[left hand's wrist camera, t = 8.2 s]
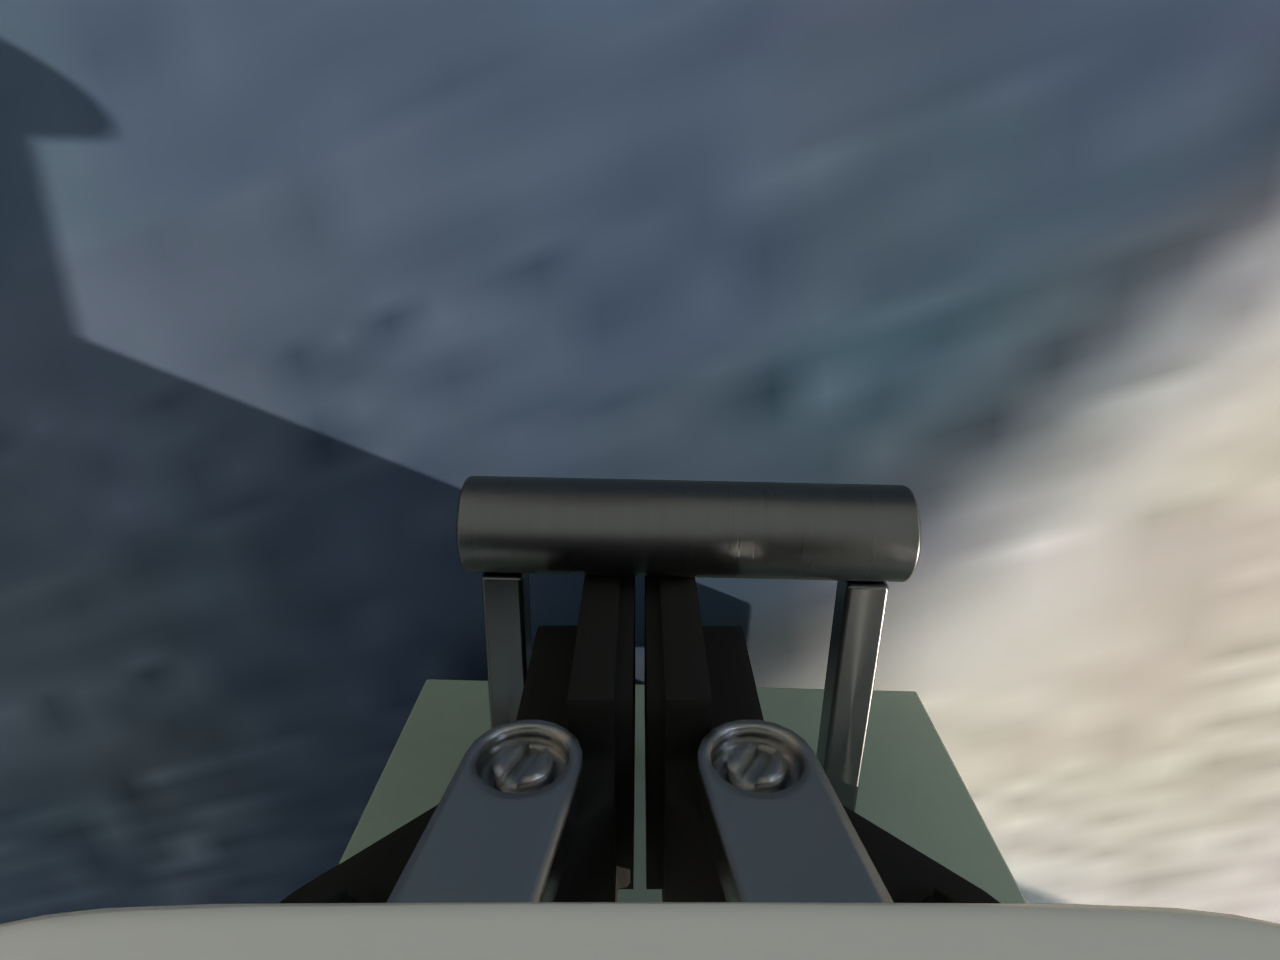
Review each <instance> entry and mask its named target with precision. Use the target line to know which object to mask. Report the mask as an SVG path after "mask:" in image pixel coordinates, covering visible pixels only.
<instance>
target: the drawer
mask: <svg viewBox="0 0 1280 960" xmlns="http://www.w3.org/2000/svg"><path fill="white" fill-rule="evenodd" d="M456 538H457V549H458V555H459V559H460V562H461V565H462V567H463V569H464V570H466V571H468V572H484V573H483V575H482V577H481V584H482V599H483V614H484V628H485V643H486V658H487V673H488V681H478V680H438V679H427V680H426V682H425V684H424V686H423V688H422V690H421V692H420V694H419V696H418V698H417V701H416V703H415V705H414V707H413V709H412V711H411V713H410V715H409V717H408V719H407V722H406V724H405V726H404V728H403V730H402V732H401V734H400V736H399V738H398V740H397V743H396V745H395V747H394V749H393V751H392V753H391V755H390V757H389V759H388V761H387V764H386V766H385V768H384V770H383V772H382V774H381V776H380V778H379V780H378V782H377V785H376V787H375V789H374V791H373V793H372V795H371V797H370V799H369V801H368V803H367V806H366V808H365V810H364V812H363V814H362V816H361V818H360V820H359V822H358V824H357V827H356V829H355V831H354V833H353V835H352V837H351V839H350V841H349V843H348V845H347V848H346V850H345V852H344V854H343V856H342V858H341V860H340V862H339V864H341V863H342V862H344V861H345V860H347V859H349V858H350V857H352V856H354V855H355V854H357V853H359V852H360V851H362V850H364V849H365V848H367V847H369V846H370V845H372V844H373V843H375V842H377V841H378V840H380V839H382V838H383V837H385V836H387V835H388V834H390V833H392V832H393V831H395V830H397V829H398V828H400V827H402V826H403V825H405V824H406V823H408V822H410V821H411V820H413V819H415V818H416V817H418V816H420V815H421V814H423V813H425V812H426V811H428V810H430V809H431V808H433V807H434V806H436V805H438V804H439V802H440V800H441V798H442V796H443V794H444V793H445V791H446V789H447V787H448V785H449V783H450V781H451V779H452V777H453V776H454V774H455V772H456V770H457V768H458V766H459V764H460V762H461V760H462V759H463V757H464V755H465V753H466V751H467V750H468V749H469V747H470V746H471V745H472V743H473V742H474V741H475V740H476V739H477V738H479V737H480V736H481V735H483V734H484V733H485V732H487V731H488V730H490V729H492V728H495V727H497V726H499V725H502V724H504V723H508V722H513V721H516V718H517V714H518V710H519V705H520V701H521V697H522V693H523V688H524V684H525V680H526V676H527V672H528V667H529V663H530V659H531V655H532V642H531V618H530V594H529V573H542V574H584V575H627V576H669V577H712V578H755V579H797V580H838V583H837V591H836V599H835V607H834V616H833V624H832V632H831V640H830V648H829V656H828V664H827V672H826V681H825V689H792V688H756V689H757V693H758V698H759V702H760V706H761V710H762V715H763V719H764V721H767V722H772V723H776V724H778V725H781V726H783V727H785V728H788V729H790V730H792V731H793V732H795V733H796V734H797V735H799V736H800V737H801V738H803V739H804V740H805V741H806V742H807V743H808V745H809V746H810V747H811V749H812V750H813V751H814V753H815V755H816V757H817V759H818V760H819V762H820V764H821V766H822V768H823V770H824V772H825V774H826V776H827V777H828V779H829V781H830V783H831V785H832V787H833V789H834V791H835V793H836V794H837V796H838V798H839V800H840V802H841V804H842V805H844V806H845V807H847V808H849V809H850V810H852V811H854V812H855V813H857V814H859V815H860V816H862V817H863V818H865V819H867V820H868V821H870V822H872V823H873V824H875V825H877V826H878V827H880V828H882V829H883V830H885V831H887V832H888V833H890V834H892V835H893V836H895V837H896V838H898V839H900V840H901V841H903V842H905V843H906V844H908V845H910V846H911V847H913V848H915V849H916V850H918V851H920V852H921V853H923V854H924V855H926V856H928V857H929V858H931V859H933V860H934V861H936V862H938V863H939V864H941V865H943V866H944V867H946V868H948V869H949V870H951V871H952V872H954V873H956V874H957V875H959V876H961V877H962V878H964V879H966V880H967V881H969V882H971V883H972V884H974V885H976V886H977V887H979V888H981V889H982V890H984V891H985V892H987V893H988V894H989V895H991V896H992V897H993V898H995V899H996V900H997V901H999V902H1000V903H1005V904H1027V902H1026V900H1025V898H1024V897H1023V895H1022V893H1021V891H1020V889H1019V887H1018V885H1017V883H1016V881H1015V879H1014V877H1013V876H1012V874H1011V872H1010V870H1009V868H1008V866H1007V864H1006V862H1005V860H1004V858H1003V857H1002V855H1001V853H1000V851H999V849H998V847H997V845H996V843H995V841H994V839H993V837H992V836H991V834H990V832H989V830H988V828H987V826H986V824H985V822H984V820H983V818H982V817H981V815H980V813H979V811H978V809H977V807H976V805H975V803H974V801H973V799H972V797H971V796H970V794H969V792H968V790H967V788H966V786H965V784H964V782H963V780H962V778H961V777H960V775H959V773H958V771H957V769H956V767H955V765H954V763H953V761H952V759H951V757H950V756H949V754H948V752H947V750H946V748H945V746H944V744H943V742H942V740H941V738H940V737H939V735H938V733H937V731H936V729H935V727H934V725H933V723H932V721H931V719H930V717H929V716H928V714H927V712H926V710H925V708H924V706H923V704H922V702H921V700H920V698H919V697H918V695H917V693H916V692H911V691H873V688H874V681H875V675H876V668H877V661H878V655H879V648H880V641H881V635H882V628H883V622H884V615H885V608H886V602H887V595H888V585H887V583H886V582H904V581H907V580H909V579H910V578H911V577H912V575H913V574H914V571H915V569H916V566H917V563H918V559H919V554H920V546H921V522H920V515H919V509H918V505H917V502H916V499H915V496H914V494H913V492H912V491H911V490H910V489H909V488H908V487H906V486H903V485H866V484H820V483H774V482H728V481H682V480H636V479H590V478H544V477H498V476H471V477H469V478H467V479H466V481H465V482H464V485H463V487H462V490H461V493H460V498H459V503H458V510H457V522H456ZM339 864H338V865H339ZM618 902H662V889H646V808H645V685H635V790H634V889H618Z"/></svg>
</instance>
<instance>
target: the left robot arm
mask: <svg viewBox="0 0 1280 960" xmlns="http://www.w3.org/2000/svg"><path fill="white" fill-rule="evenodd" d="M634 790H635V576H627V575H585V580H584V587H583V594H582V601H581V608H580V615H579V622H578V626H539V627H538V630H537V634H536V638H535V642H534V646H533V650H532V655H531V659H530V663H529V667H528V672H527V676H526V680H525V684H524V688H523V693H522V697H521V701H520V705H519V710H518V714H517V718H516V721H513V722H508V723H504V724H502V725H499V726H497V727H495V728H492V729H490V730H488V731H487V732H485V733H484V734H483V735H481V736H480V737H479V738H477V739H476V740H475V741H474V742H473V743H472V745H471V746H470V747H469V749H468V750H467V751H466V753H465V755H464V757H463V759H462V760H461V762H460V764H459V766H458V768H457V770H456V772H455V774H454V776H453V777H452V779H451V781H450V783H449V785H448V787H447V789H446V791H445V793H444V794H443V796H442V798H441V800H440V802H439V804H438V805H436V806H434V807H433V808H431V809H430V810H428V811H426V812H425V813H423V814H421V815H420V816H418V817H416V818H415V819H413V820H411V821H410V822H408V823H406V824H405V825H403V826H402V827H400V828H398V829H397V830H395V831H393V832H392V833H390V834H388V835H387V836H385V837H383V838H382V839H380V840H378V841H377V842H375V843H373V844H372V845H370V846H369V847H367V848H365V849H364V850H362V851H360V852H359V853H357V854H355V855H354V856H352V857H350V858H349V859H347V860H345V861H344V862H342V863H341V864H339V865H337V866H336V867H334V868H332V869H331V870H329V871H327V872H326V873H324V874H322V875H321V876H319V877H317V878H316V879H314V880H313V881H311V882H309V883H308V884H306V885H304V886H303V887H301V888H299V889H298V890H296V891H295V892H293V893H292V894H291V895H289V896H288V897H287V898H285V899H284V900H283V901H281V902H280V903H274V904H198V905H172V906H146V907H121V908H101V909H92V910H83V911H75V912H66V913H57V914H48V915H42V916H37V917H32V918H27V919H22V920H17V921H12V922H8V923H3V924H0V960H1280V924H1277V923H1272V922H1268V921H1263V920H1258V919H1253V918H1248V917H1243V916H1238V915H1232V914H1223V913H1214V912H1205V911H1197V910H1188V909H1179V908H1159V907H1134V906H1108V905H1082V904H1005V903H1000V902H999V901H997V900H996V899H995V898H993V897H992V896H991V895H989V894H988V893H987V892H985V891H984V890H982V889H981V888H979V887H977V886H976V885H974V884H972V883H971V882H969V881H967V880H966V879H964V878H962V877H961V876H959V875H957V874H956V873H954V872H952V871H951V870H949V869H948V868H946V867H944V866H943V865H941V864H939V863H938V862H936V861H934V860H933V859H931V858H929V857H928V856H926V855H924V854H923V853H921V852H920V851H918V850H916V849H915V848H913V847H911V846H910V845H908V844H906V843H905V842H903V841H901V840H900V839H898V838H896V837H895V836H893V835H892V834H890V833H888V832H887V831H885V830H883V829H882V828H880V827H878V826H877V825H875V824H873V823H872V822H870V821H868V820H867V819H865V818H863V817H862V816H860V815H859V814H857V813H855V812H854V811H852V810H850V809H849V808H847V807H845V806H844V805H842V804H841V802H840V800H839V798H838V796H837V794H836V793H835V791H834V789H833V787H832V785H831V783H830V781H829V779H828V777H827V776H826V774H825V772H824V770H823V768H822V766H821V764H820V762H819V760H818V759H817V757H816V755H815V753H814V751H813V750H812V749H811V747H810V746H809V745H808V743H807V742H806V741H805V740H804V739H803V738H801V737H800V736H799V735H797V734H796V733H795V732H793V731H792V730H790V729H788V728H785V727H783V726H781V725H778V724H776V723H772V722H767V721H764V719H763V715H762V710H761V706H760V702H759V698H758V693H757V689H756V685H755V681H754V677H753V672H752V668H751V664H750V660H749V655H748V651H747V647H746V643H745V639H744V634H743V631H742V628H741V627H740V626H702V623H701V616H700V609H699V602H698V595H697V588H696V582H695V577H669V576H645V808H646V889H662V902H618V889H634Z"/></svg>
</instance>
